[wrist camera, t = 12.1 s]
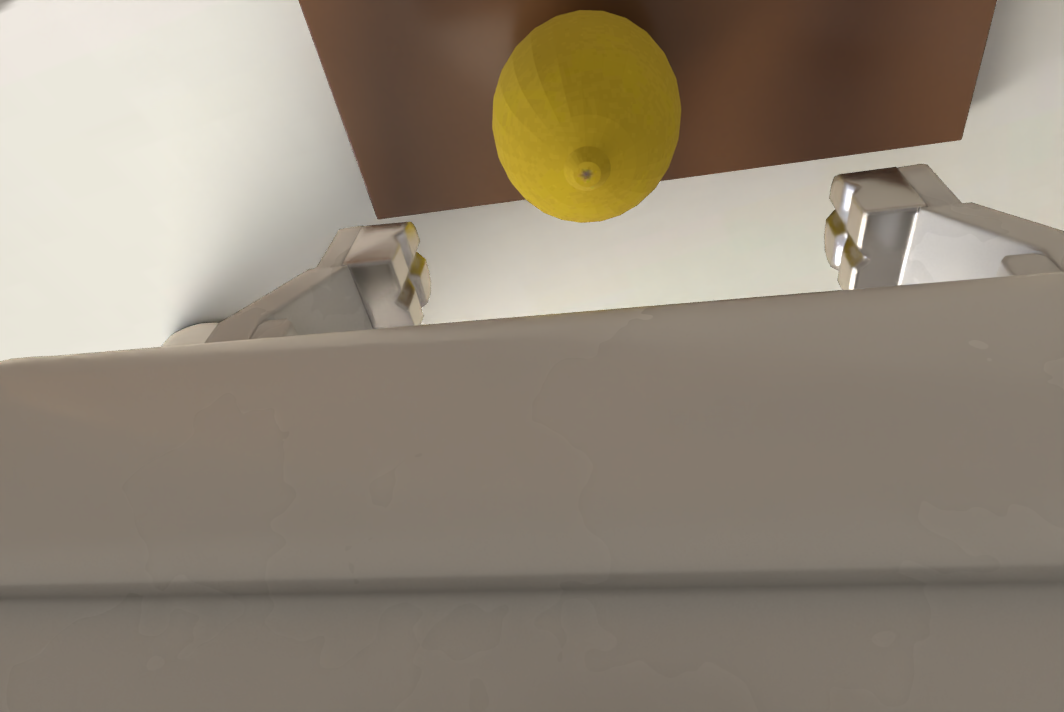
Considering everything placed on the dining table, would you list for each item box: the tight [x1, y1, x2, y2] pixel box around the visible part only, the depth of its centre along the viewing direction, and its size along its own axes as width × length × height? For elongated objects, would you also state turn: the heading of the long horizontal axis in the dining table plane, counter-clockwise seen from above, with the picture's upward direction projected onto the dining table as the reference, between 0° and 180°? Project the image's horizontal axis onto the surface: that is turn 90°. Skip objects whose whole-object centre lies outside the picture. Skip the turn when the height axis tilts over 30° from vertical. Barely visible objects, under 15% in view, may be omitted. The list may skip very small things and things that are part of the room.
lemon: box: [492, 10, 681, 223], centre depth 19 cm, size 6×6×8 cm
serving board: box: [299, 0, 997, 219], centre depth 23 cm, size 22×9×2 cm, turn 100°
